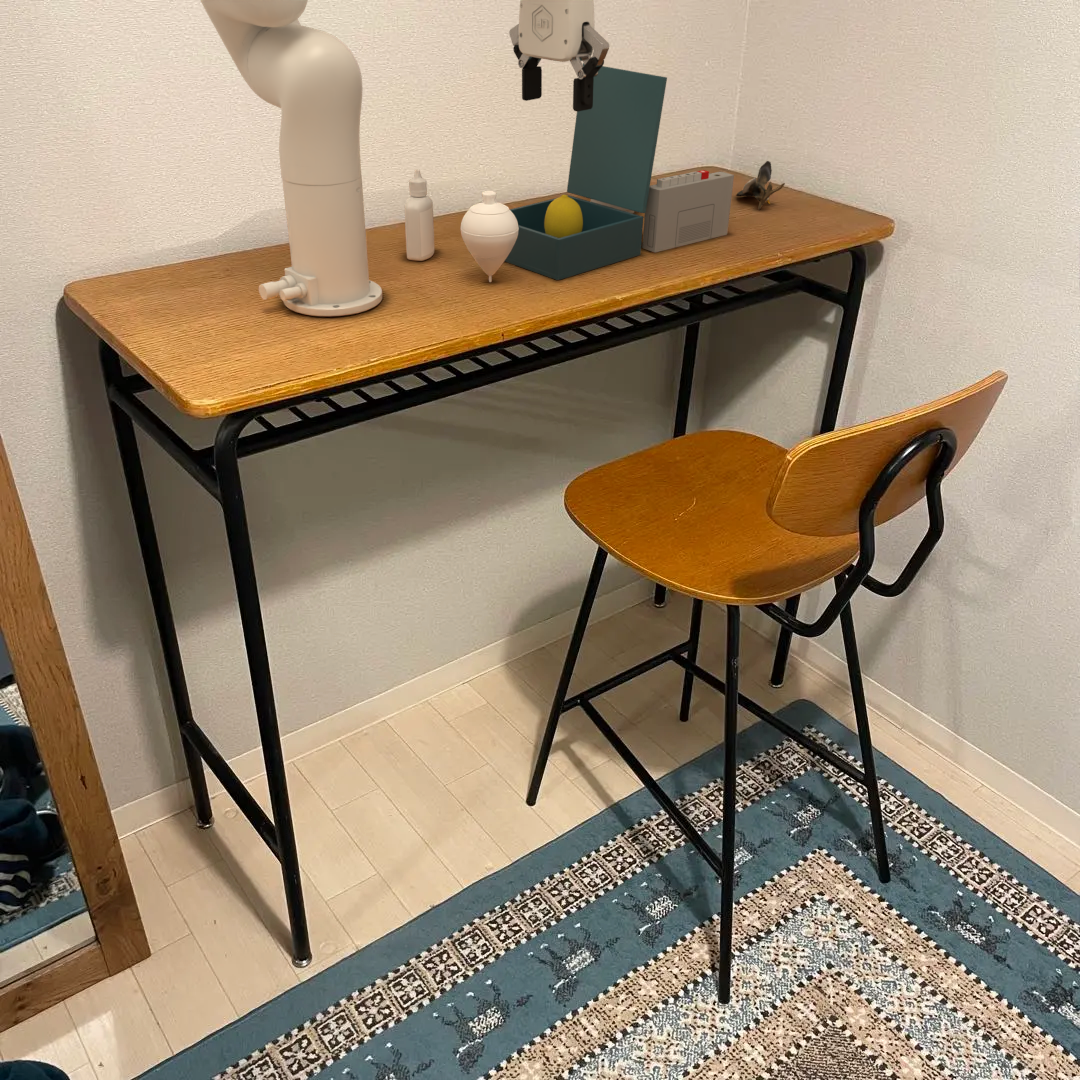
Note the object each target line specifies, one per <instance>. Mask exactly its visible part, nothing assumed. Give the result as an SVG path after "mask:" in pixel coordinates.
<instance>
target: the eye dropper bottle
mask: <svg viewBox="0 0 1080 1080" xmlns="http://www.w3.org/2000/svg"><path fill="white" fill-rule="evenodd" d="M427 183H428V182H427V179H426V178H423V177H422V173H421V170H420V169H414V173H413V177H412V178H410V179H409V180H408V187H409V189H408V190H409V197H408V198H407V199H406V201H405V204H404V224H405V225H404V227H405V229H404V230H405V248H406V250H405V251H406V258H407V260H409V261H415V262H424V261H425V260H428V259H430V258H432V256H434V254H435V249H436V248H435V225H434V222H435V221H434V203H433V202H434V201H433V200H432V198H431V197H430V196H428V184H427Z"/></svg>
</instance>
